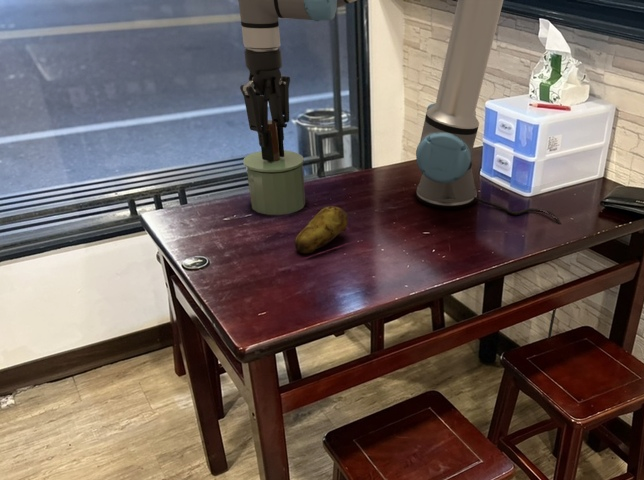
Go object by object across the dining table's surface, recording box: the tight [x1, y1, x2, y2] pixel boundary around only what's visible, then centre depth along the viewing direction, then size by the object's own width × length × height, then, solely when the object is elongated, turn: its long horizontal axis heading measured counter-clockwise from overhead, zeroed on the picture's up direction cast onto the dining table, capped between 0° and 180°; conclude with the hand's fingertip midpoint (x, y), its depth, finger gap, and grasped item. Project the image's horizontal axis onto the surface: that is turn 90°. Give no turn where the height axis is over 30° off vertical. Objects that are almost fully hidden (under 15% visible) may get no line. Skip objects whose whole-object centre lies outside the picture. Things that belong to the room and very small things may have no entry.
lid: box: [242, 119, 305, 172], centre depth 140 cm, size 14×14×10 cm
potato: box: [294, 205, 349, 254], centre depth 129 cm, size 8×13×8 cm, turn 123°
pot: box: [245, 163, 306, 216], centre depth 145 cm, size 13×13×10 cm
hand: (273, 157), depth 141 cm, fingers closed on lid, 3 cm apart
